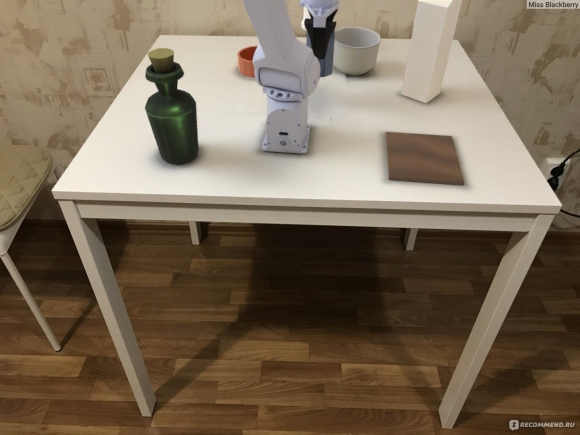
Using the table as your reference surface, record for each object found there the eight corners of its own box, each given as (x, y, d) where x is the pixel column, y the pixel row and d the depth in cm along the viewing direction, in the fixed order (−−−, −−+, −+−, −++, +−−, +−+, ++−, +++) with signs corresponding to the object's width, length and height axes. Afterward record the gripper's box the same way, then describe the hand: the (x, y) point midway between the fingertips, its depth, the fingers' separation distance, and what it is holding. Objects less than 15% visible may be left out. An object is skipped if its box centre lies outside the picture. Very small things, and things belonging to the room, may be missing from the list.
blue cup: (332, 77, 88) (334, 36, 83) (305, 76, 88) (305, 35, 83) (333, 66, 92) (335, 25, 86) (307, 64, 92) (308, 24, 87)
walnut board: (463, 185, 74) (464, 182, 73) (388, 179, 75) (389, 176, 74) (451, 138, 84) (452, 135, 84) (385, 134, 85) (385, 131, 85)
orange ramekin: (275, 80, 101) (274, 63, 99) (235, 78, 102) (233, 60, 99) (280, 63, 108) (280, 46, 105) (242, 61, 109) (241, 44, 106)
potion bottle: (194, 170, 77) (177, 66, 64) (148, 165, 78) (123, 62, 65) (209, 143, 82) (195, 44, 70) (166, 139, 83) (145, 40, 71)
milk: (426, 104, 94) (452, -12, 79) (400, 94, 97) (420, -19, 82) (440, 93, 97) (467, -20, 82) (415, 84, 100) (437, -26, 85)
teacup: (375, 61, 109) (380, 27, 104) (377, 81, 101) (382, 45, 96) (317, 58, 110) (318, 24, 105) (314, 78, 102) (316, 43, 97)
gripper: (303, -39, 84) (302, 36, 93) (295, -14, 73) (295, 67, 83) (342, -37, 83) (337, 37, 92) (340, -13, 73) (334, 69, 82)
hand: (320, 51), depth 87 cm, fingers closed on blue cup, 5 cm apart
